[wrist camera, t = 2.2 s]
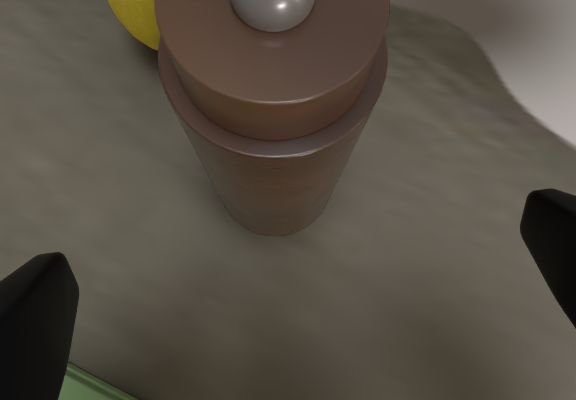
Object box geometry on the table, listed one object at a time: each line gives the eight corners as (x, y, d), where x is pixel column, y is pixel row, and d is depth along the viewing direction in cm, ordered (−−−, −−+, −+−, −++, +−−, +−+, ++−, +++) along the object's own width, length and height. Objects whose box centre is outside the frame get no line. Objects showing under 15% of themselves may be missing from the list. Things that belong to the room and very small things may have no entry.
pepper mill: (286, 259, 20) (307, 165, 6) (195, 191, 21) (44, -23, 7) (352, 170, 21) (487, -69, 8) (264, 108, 22) (244, -216, 8)
